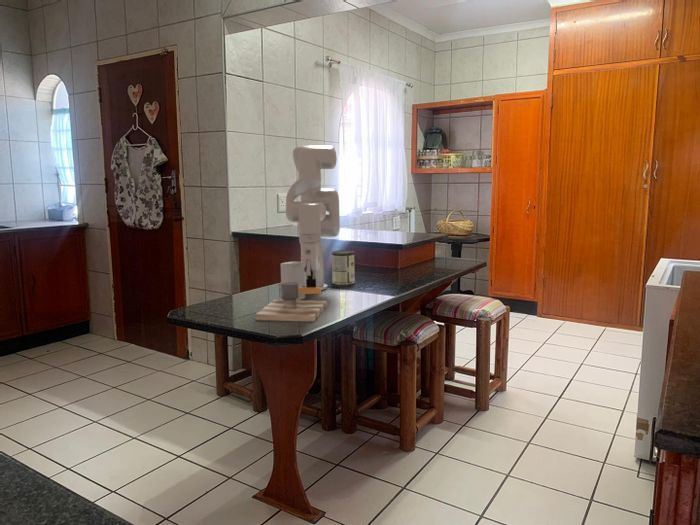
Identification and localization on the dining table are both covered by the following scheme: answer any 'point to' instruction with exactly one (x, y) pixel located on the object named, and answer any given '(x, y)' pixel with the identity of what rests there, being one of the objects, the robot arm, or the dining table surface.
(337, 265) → the coffee can
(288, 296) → the grey orange long piece
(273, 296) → the dining table surface
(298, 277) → the skincare box
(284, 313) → the base
